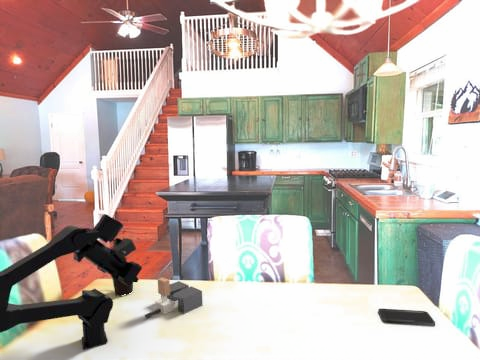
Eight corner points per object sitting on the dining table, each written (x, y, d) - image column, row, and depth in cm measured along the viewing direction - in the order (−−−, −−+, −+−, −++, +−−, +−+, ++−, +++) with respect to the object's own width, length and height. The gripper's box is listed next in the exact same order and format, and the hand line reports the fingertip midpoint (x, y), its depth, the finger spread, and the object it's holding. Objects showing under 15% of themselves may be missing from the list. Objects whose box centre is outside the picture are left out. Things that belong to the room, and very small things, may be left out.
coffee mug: (131, 297, 125) (129, 271, 124) (108, 297, 126) (106, 271, 125) (140, 284, 137) (139, 261, 136) (120, 285, 137) (118, 261, 136)
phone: (377, 308, 110) (426, 311, 107) (377, 311, 110) (426, 314, 107) (383, 320, 102) (436, 323, 100) (383, 323, 102) (436, 327, 100)
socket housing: (184, 313, 111) (183, 298, 111) (161, 301, 121) (160, 287, 120) (202, 305, 117) (201, 290, 117) (179, 294, 126) (178, 281, 126)
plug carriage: (149, 321, 107) (147, 288, 106) (141, 315, 110) (139, 284, 109) (174, 310, 114) (172, 279, 113) (165, 305, 117) (164, 276, 116)
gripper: (133, 237, 94) (168, 264, 103) (104, 227, 107) (137, 253, 116) (108, 272, 89) (147, 298, 98) (80, 258, 102) (117, 282, 111)
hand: (137, 280), depth 106 cm, fingers closed
